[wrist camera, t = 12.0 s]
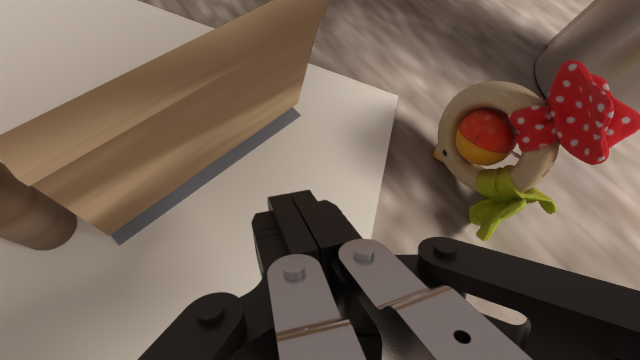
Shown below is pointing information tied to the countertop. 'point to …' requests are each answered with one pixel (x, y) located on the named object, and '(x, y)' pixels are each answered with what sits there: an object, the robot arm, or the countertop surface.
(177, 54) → the fence panel
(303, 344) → the robot arm
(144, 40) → the card
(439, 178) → the countertop surface
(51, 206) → the fixed fence section
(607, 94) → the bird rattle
